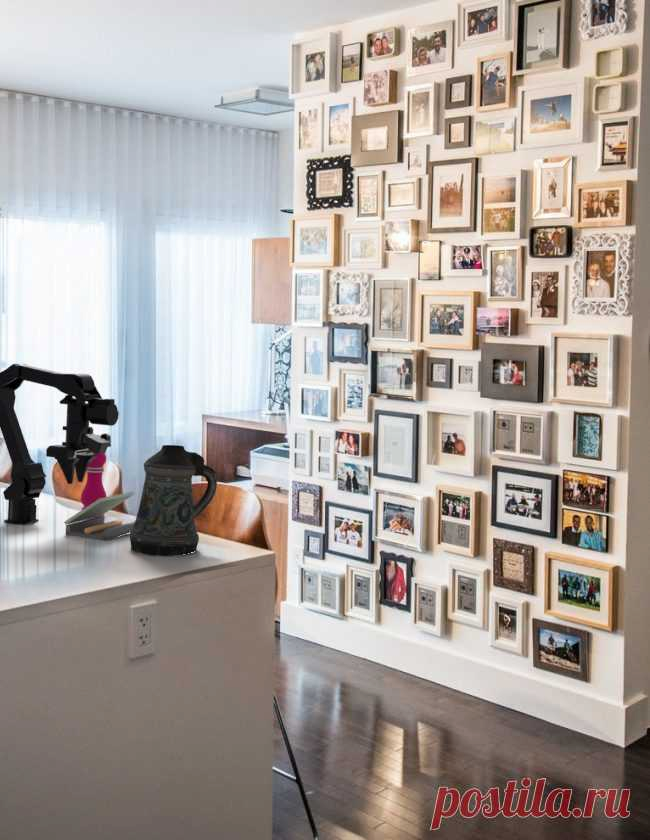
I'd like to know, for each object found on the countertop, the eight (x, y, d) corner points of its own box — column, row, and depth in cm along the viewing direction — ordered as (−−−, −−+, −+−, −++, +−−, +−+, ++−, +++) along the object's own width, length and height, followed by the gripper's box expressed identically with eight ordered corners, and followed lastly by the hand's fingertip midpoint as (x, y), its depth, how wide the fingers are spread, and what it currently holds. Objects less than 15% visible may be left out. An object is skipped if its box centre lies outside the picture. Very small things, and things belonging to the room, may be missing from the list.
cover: (65, 524, 253) (63, 520, 254) (100, 515, 269) (98, 512, 269) (100, 501, 250) (98, 497, 250) (134, 494, 265) (132, 490, 265)
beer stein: (114, 547, 242) (119, 443, 240) (176, 539, 257) (180, 440, 255) (160, 559, 232) (165, 450, 230) (221, 550, 246) (226, 447, 245)
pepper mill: (109, 513, 289) (112, 443, 288) (101, 517, 282) (104, 445, 280) (84, 511, 290) (87, 441, 288) (76, 515, 282) (79, 444, 281)
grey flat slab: (65, 534, 254) (65, 524, 254) (100, 525, 269) (100, 516, 269) (107, 540, 250) (107, 530, 250) (139, 530, 265) (140, 521, 265)
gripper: (84, 427, 249) (82, 490, 250) (124, 423, 267) (121, 482, 268) (46, 423, 253) (43, 485, 254) (87, 420, 270) (84, 478, 271)
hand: (75, 482), depth 262 cm, fingers open, 4 cm apart
